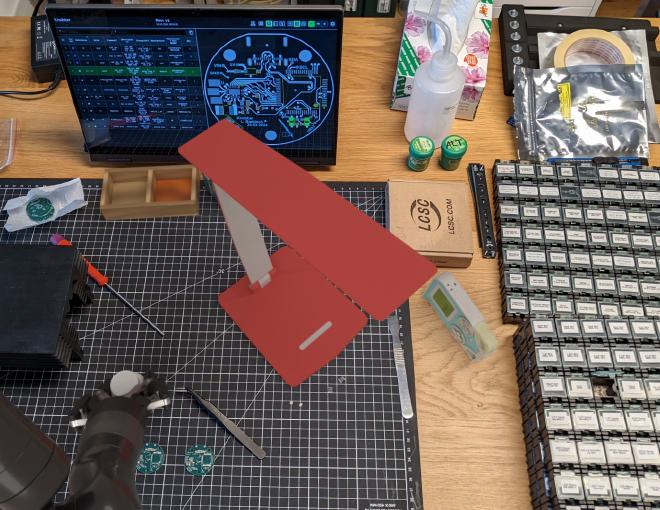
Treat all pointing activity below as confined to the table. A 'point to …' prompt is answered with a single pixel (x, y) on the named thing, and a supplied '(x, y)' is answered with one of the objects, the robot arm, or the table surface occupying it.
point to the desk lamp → (300, 254)
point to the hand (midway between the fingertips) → (129, 380)
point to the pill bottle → (125, 382)
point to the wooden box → (150, 192)
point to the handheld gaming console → (461, 316)
